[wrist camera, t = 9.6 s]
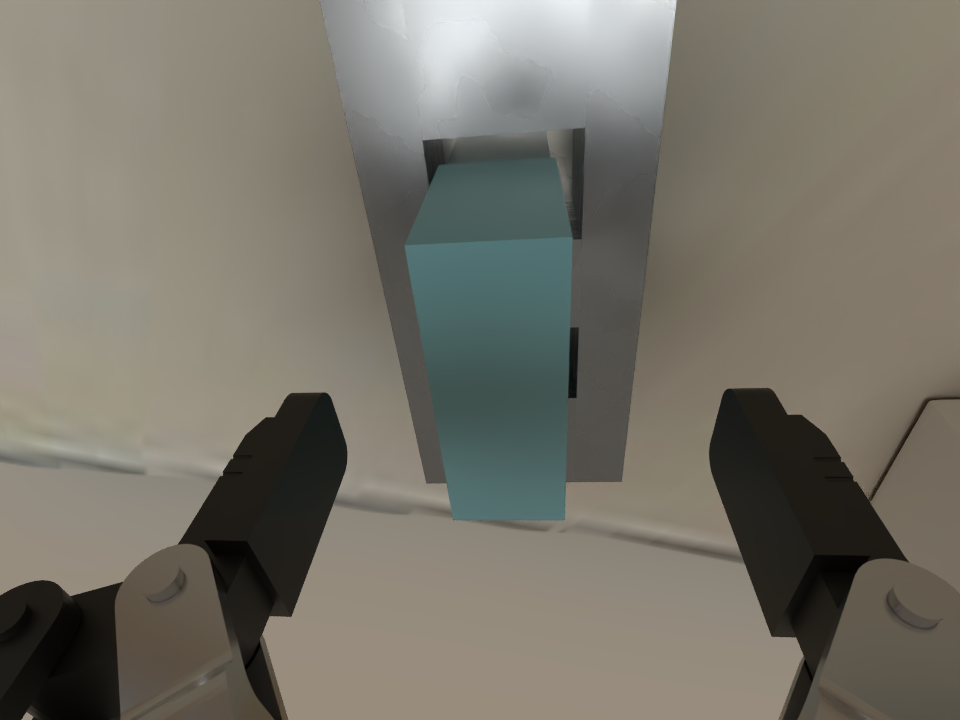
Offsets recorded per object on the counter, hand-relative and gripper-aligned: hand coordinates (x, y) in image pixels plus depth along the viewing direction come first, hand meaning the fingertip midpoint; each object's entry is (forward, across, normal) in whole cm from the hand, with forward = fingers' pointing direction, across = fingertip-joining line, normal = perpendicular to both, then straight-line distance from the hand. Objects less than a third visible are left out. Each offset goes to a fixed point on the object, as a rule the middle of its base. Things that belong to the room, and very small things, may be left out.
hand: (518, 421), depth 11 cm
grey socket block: (+10, 0, 0) cm, 10 cm away
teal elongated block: (+10, +1, 0) cm, 10 cm away
